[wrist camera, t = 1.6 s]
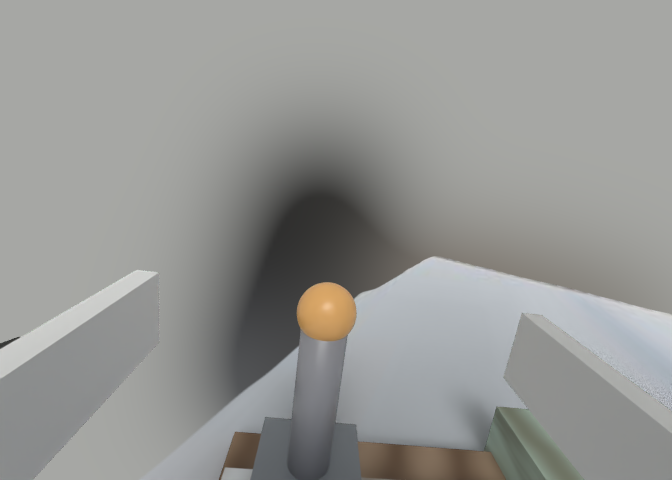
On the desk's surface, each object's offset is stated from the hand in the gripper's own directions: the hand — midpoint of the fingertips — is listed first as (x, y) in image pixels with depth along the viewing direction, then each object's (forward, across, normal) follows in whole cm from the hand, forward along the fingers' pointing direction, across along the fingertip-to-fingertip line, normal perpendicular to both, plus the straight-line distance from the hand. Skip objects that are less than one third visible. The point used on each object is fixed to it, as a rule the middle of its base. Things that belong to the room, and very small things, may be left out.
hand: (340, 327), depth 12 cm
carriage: (+10, 0, -20) cm, 22 cm away
